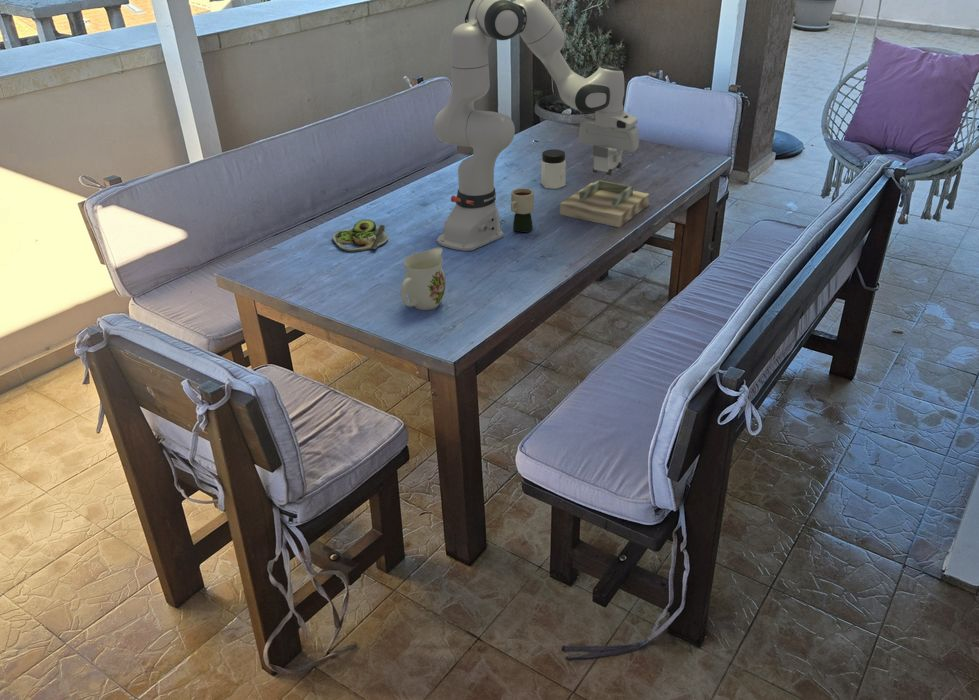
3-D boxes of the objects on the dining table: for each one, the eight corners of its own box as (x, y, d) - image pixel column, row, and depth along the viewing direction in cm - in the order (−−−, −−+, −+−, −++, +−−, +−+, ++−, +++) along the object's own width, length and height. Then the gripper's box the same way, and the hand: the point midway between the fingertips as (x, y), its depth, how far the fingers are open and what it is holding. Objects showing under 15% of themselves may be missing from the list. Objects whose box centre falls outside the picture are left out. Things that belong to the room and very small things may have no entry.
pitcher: (388, 315, 227) (383, 269, 220) (427, 288, 240) (424, 243, 233) (421, 325, 222) (417, 278, 215) (459, 296, 235) (457, 251, 228)
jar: (553, 191, 301) (553, 158, 295) (536, 185, 306) (536, 153, 300) (570, 184, 306) (570, 152, 300) (553, 179, 312) (553, 147, 305)
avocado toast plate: (399, 248, 264) (398, 234, 262) (344, 259, 259) (342, 246, 256) (381, 227, 280) (380, 213, 277) (329, 237, 274) (327, 224, 272)
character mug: (525, 222, 278) (524, 184, 271) (542, 227, 274) (542, 189, 267) (503, 232, 271) (502, 194, 264) (520, 238, 267) (520, 199, 260)
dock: (619, 227, 272) (620, 207, 268) (560, 214, 282) (560, 194, 279) (648, 205, 287) (650, 185, 283) (591, 193, 298) (591, 174, 294)
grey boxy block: (607, 177, 273) (608, 149, 268) (590, 174, 276) (591, 146, 271) (622, 167, 280) (623, 139, 275) (606, 164, 283) (607, 136, 278)
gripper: (575, 116, 272) (574, 157, 279) (633, 125, 262) (631, 167, 269) (585, 111, 276) (584, 152, 284) (642, 119, 266) (639, 161, 273)
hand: (607, 160), depth 276 cm, fingers closed on grey boxy block, 5 cm apart
